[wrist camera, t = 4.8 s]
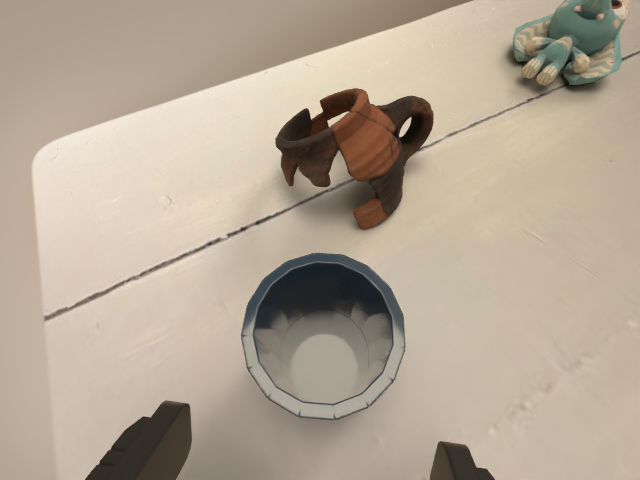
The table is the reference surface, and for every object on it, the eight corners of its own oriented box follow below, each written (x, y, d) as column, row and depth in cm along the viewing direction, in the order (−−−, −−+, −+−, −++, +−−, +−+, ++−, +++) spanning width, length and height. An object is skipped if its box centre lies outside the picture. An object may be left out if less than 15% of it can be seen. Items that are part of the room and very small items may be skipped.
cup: (349, 437, 17) (366, 458, 10) (253, 380, 18) (208, 364, 11) (390, 332, 20) (426, 290, 13) (303, 290, 21) (292, 232, 14)
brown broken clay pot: (336, 259, 23) (279, 171, 18) (302, 205, 30) (255, 133, 25) (472, 172, 23) (454, 58, 18) (403, 140, 30) (377, 53, 25)
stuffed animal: (502, 13, 28) (575, -58, 30) (476, 79, 35) (538, 17, 36) (625, 61, 24) (700, -24, 26) (570, 124, 31) (633, 53, 33)
